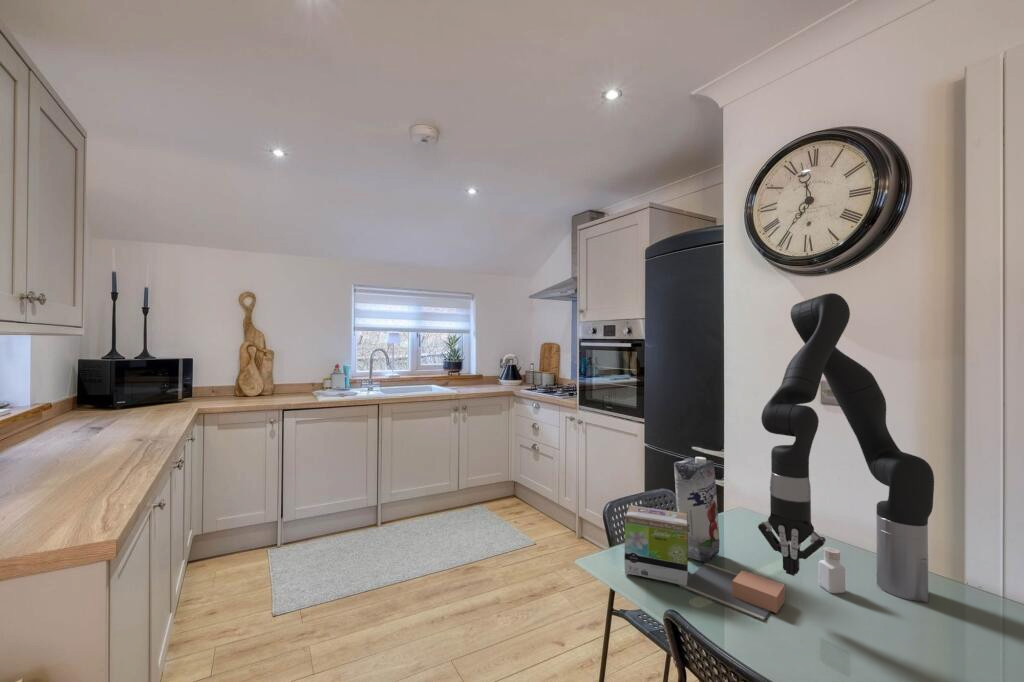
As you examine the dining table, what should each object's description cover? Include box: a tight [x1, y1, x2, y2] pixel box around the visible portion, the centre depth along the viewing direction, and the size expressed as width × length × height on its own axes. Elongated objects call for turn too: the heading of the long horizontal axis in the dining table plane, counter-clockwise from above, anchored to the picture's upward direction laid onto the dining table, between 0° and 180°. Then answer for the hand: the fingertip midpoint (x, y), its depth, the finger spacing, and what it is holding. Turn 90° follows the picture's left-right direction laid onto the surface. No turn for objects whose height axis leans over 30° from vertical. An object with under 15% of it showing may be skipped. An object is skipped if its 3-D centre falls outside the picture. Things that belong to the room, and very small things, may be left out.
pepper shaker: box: [818, 546, 846, 594], centre depth 103 cm, size 4×4×10 cm
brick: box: [732, 570, 786, 614], centre depth 98 cm, size 4×7×9 cm
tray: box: [679, 562, 771, 622], centre depth 103 cm, size 18×16×1 cm
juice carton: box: [673, 456, 721, 563], centre depth 121 cm, size 9×10×27 cm
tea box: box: [623, 504, 689, 586], centre depth 110 cm, size 15×10×15 cm
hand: (790, 573), depth 94 cm, fingers closed
